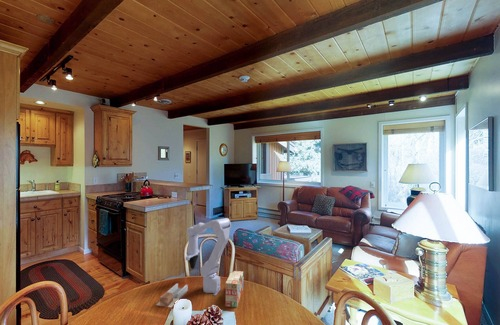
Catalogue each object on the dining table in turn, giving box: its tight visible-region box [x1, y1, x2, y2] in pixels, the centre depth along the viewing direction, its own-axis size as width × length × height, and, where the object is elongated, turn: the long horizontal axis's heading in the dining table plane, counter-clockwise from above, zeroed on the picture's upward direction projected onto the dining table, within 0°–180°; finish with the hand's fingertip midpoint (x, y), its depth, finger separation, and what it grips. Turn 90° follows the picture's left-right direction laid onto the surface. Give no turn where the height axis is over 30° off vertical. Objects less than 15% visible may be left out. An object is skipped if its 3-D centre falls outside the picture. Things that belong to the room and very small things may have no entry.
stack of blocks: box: [224, 270, 245, 308], centre depth 127 cm, size 21×6×12 cm, turn 173°
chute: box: [155, 283, 190, 308], centre depth 124 cm, size 9×18×4 cm, turn 167°
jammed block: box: [159, 291, 173, 307], centre depth 118 cm, size 5×5×4 cm
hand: (192, 267), depth 141 cm, fingers closed
